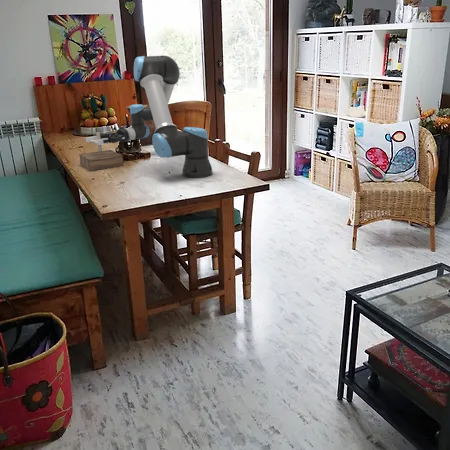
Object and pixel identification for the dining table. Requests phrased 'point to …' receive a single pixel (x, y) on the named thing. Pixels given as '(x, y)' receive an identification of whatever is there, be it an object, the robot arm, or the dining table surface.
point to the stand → (101, 160)
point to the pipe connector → (96, 141)
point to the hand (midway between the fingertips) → (91, 141)
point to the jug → (151, 128)
